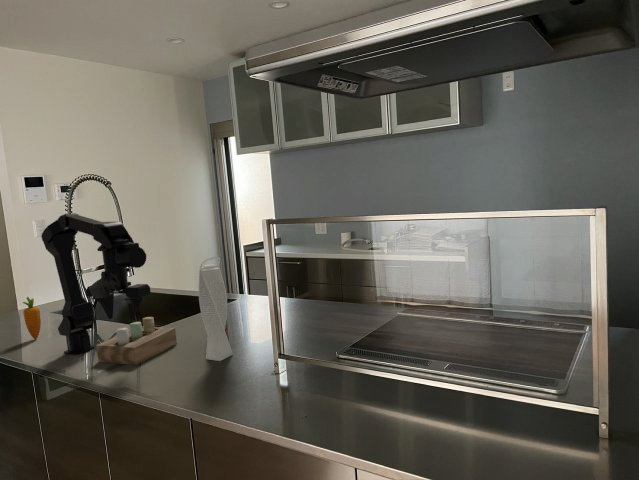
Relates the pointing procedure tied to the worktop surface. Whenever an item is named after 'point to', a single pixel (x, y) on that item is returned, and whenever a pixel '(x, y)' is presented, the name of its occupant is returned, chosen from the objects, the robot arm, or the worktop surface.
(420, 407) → the worktop surface
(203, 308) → the skyscraper
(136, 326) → the plug green
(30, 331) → the carrot
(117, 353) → the wooden plug holder
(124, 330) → the plug grey
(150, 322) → the plug beech
